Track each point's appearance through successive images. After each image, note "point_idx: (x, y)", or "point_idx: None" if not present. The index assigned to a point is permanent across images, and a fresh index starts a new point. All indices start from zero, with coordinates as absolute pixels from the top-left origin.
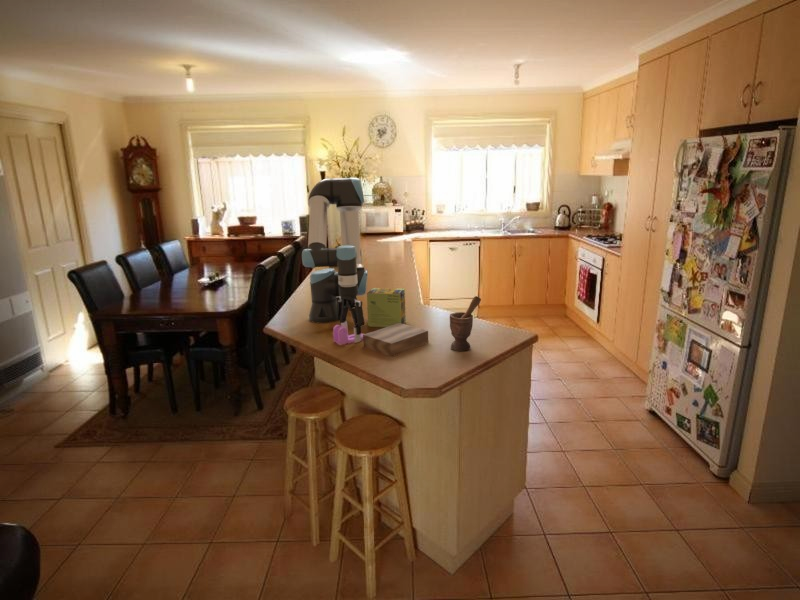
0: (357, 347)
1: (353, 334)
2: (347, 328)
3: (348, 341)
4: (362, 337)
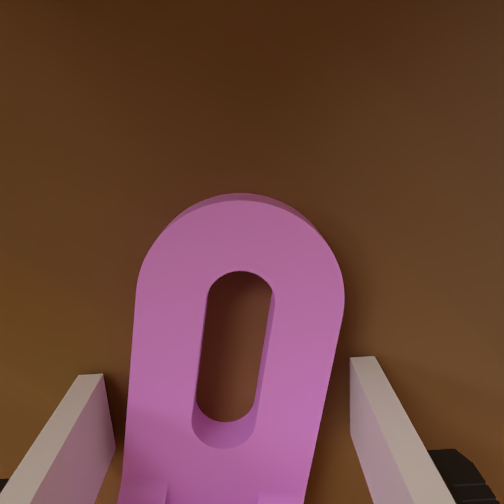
0: (490, 481)
1: (139, 333)
2: (55, 462)
3: (302, 493)
4: (342, 312)
